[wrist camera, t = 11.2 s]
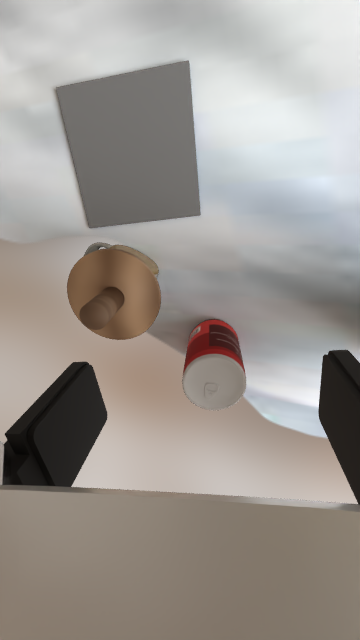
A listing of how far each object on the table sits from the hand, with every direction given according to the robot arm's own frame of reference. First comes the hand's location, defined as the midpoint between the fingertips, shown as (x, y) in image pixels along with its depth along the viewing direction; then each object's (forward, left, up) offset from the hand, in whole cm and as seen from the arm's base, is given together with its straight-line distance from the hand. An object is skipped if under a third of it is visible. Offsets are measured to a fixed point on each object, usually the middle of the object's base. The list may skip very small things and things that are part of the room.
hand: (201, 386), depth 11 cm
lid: (+11, +2, -20) cm, 23 cm away
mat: (+8, -13, -28) cm, 31 cm away
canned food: (0, +13, -28) cm, 31 cm away
